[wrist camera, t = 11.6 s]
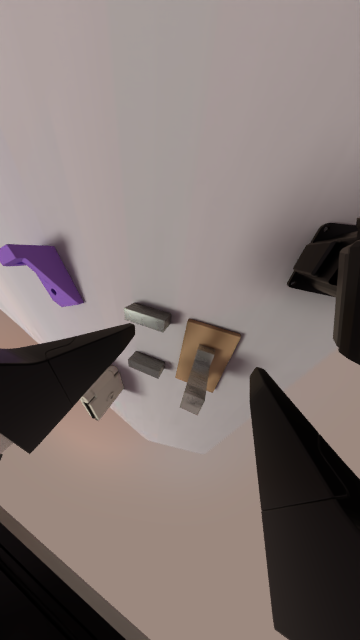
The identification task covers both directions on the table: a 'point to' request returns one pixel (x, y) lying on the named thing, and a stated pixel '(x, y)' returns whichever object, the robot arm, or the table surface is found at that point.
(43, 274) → the bracket
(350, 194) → the table surface
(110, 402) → the hinge
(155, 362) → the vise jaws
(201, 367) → the grey flared bar
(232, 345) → the walnut pad
